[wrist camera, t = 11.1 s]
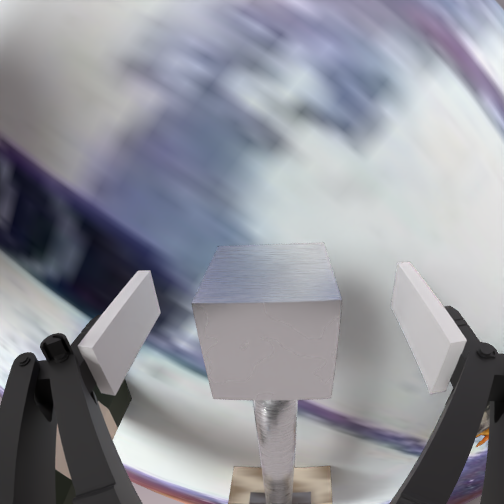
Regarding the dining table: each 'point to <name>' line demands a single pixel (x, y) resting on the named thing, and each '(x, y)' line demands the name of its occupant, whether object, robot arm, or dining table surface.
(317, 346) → the pull pin
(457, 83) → the dining table surface
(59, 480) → the wine bottle
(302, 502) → the eye block
